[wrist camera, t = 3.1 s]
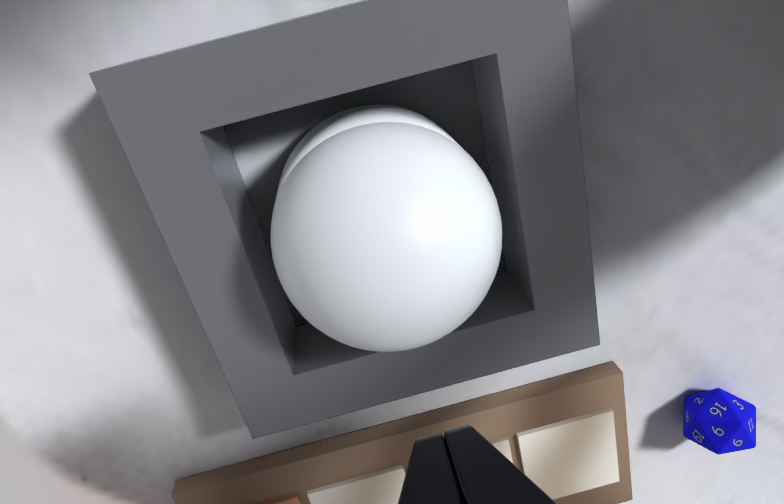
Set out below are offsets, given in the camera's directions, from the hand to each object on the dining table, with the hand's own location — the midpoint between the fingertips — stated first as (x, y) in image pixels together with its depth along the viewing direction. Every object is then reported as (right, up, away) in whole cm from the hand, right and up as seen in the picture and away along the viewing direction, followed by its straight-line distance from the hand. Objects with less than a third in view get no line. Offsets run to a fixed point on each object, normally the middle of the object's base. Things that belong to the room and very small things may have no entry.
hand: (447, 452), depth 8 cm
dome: (-1, +5, +10) cm, 11 cm away
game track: (0, -7, +16) cm, 18 cm away
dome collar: (-1, +5, +11) cm, 12 cm away
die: (+13, -4, +17) cm, 21 cm away
